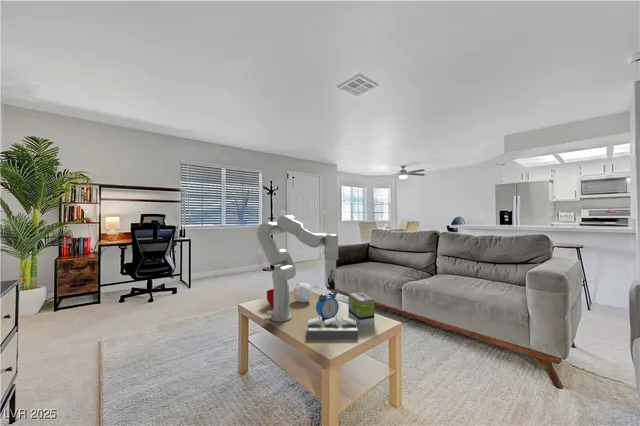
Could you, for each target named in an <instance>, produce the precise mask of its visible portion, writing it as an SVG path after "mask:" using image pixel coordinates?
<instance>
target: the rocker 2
mask: <svg viewBox="0 0 640 426" xmlns="http://www.w3.org/2000/svg"><path fill="white" fill-rule="evenodd" d="M324 321H325V325H329V324H332V323H336V322H339V321H340V319H339V316H337V315H336V316H335V317H334V318H330V319H325V320H324Z"/></svg>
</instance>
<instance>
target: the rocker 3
mask: <svg viewBox="0 0 640 426" xmlns="http://www.w3.org/2000/svg"><path fill="white" fill-rule="evenodd" d="M341 321H343V322H346V323H349V324H353V325H356V326H357V323H356V320H354V319H351V318H350V317H347V316H344V315H343V316H341Z"/></svg>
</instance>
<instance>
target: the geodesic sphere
mask: <svg viewBox="0 0 640 426" xmlns="http://www.w3.org/2000/svg"><path fill="white" fill-rule="evenodd" d="M292 295H293V298H294V300H296V302H298V303H301V304H304V303H307V302H309V301H310V300H311V297H312V296H313V289H312V287H311V286H310V284H308V283H306V282H303V281H301V282H299V283H296V284H295V286H294V287H293V291H292Z"/></svg>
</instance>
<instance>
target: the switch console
mask: <svg viewBox="0 0 640 426" xmlns="http://www.w3.org/2000/svg"><path fill="white" fill-rule="evenodd" d="M306 332H307V337H306V338H307V340H309V339H310V340H313V339H314V340H315V339H316V340H330V339H331V340H333V339H334V340H349V339H350V340H351V339H352V340H359V329H358V326H357V324H356V325H353V324H349V323H346V322H343V321H342V320H339V322H336V323H332V324H329V325H325V320H322V322H319V323H315V324H312V325H308V324H307V331H306Z"/></svg>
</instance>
